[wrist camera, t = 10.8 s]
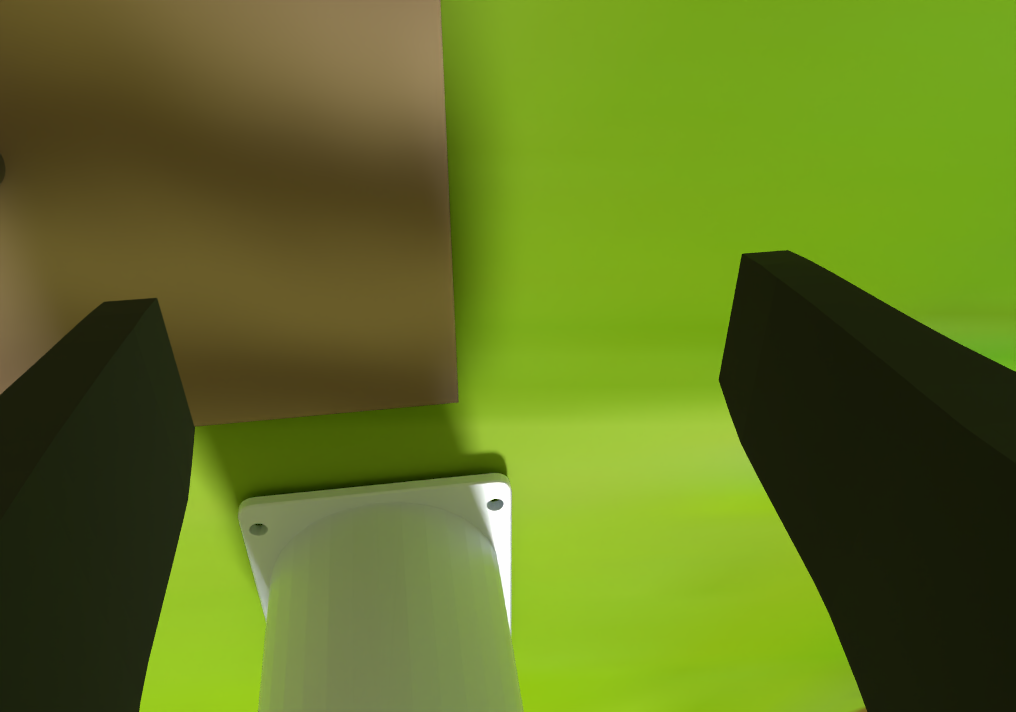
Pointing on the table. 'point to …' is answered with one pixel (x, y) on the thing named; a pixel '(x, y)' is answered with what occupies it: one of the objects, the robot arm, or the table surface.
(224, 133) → the stake board
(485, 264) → the table surface
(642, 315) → the table surface
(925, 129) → the table surface
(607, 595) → the table surface
